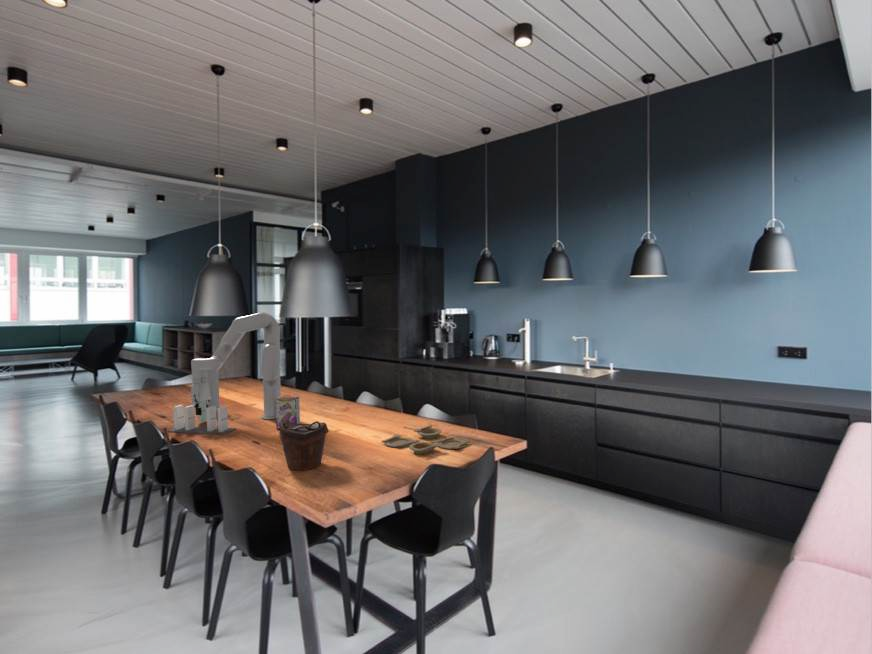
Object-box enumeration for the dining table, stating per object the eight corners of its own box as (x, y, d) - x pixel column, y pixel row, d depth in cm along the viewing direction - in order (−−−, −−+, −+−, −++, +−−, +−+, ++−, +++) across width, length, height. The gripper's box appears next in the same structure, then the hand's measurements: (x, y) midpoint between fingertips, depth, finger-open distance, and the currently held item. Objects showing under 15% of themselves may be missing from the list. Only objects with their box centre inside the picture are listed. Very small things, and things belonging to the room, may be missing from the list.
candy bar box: (276, 429, 254) (274, 398, 253) (280, 427, 259) (278, 396, 258) (297, 429, 253) (295, 398, 252) (300, 427, 258) (299, 396, 257)
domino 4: (217, 428, 257) (216, 405, 256) (210, 431, 252) (209, 408, 251) (213, 428, 257) (212, 405, 257) (207, 431, 252) (206, 408, 252)
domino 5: (228, 429, 255) (227, 406, 255) (222, 431, 251) (220, 408, 250) (224, 429, 256) (223, 406, 255) (218, 431, 251) (217, 408, 250)
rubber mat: (236, 429, 257) (236, 428, 257) (224, 434, 248) (224, 433, 248) (181, 426, 265) (181, 425, 265) (167, 431, 255) (167, 431, 255)
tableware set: (376, 443, 228) (376, 434, 227) (426, 431, 246) (426, 423, 246) (424, 461, 201) (424, 452, 201) (475, 446, 220) (475, 437, 219)
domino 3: (207, 420, 274) (206, 398, 274) (201, 422, 270) (199, 400, 269) (204, 420, 275) (202, 398, 274) (198, 422, 270) (196, 400, 269)
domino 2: (195, 427, 260) (194, 405, 259) (188, 430, 255) (187, 407, 254) (192, 427, 260) (190, 405, 259) (185, 430, 255) (184, 407, 255)
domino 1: (184, 427, 261) (183, 404, 260) (177, 429, 256) (176, 407, 256) (181, 427, 262) (180, 404, 261) (174, 429, 257) (173, 406, 256)
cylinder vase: (214, 413, 294) (212, 371, 293) (193, 413, 295) (191, 372, 293) (223, 408, 307) (221, 368, 305) (203, 409, 307) (201, 369, 306)
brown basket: (339, 463, 200) (337, 419, 199) (296, 477, 185) (293, 430, 184) (314, 455, 212) (311, 413, 211) (271, 468, 197) (268, 423, 196)
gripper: (204, 378, 280) (206, 410, 281) (183, 383, 263) (185, 417, 264) (216, 378, 278) (218, 410, 279) (195, 383, 262) (197, 417, 263)
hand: (202, 413), depth 272 cm, fingers closed on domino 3, 4 cm apart
